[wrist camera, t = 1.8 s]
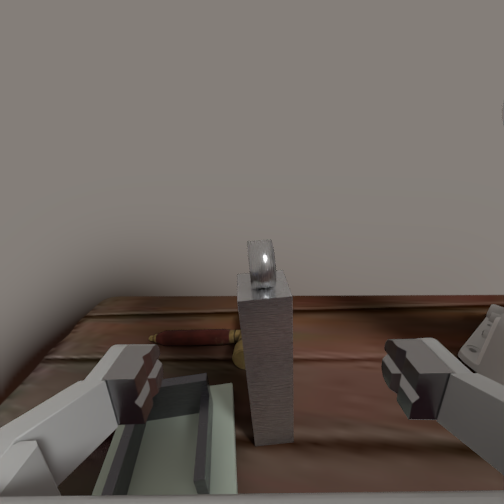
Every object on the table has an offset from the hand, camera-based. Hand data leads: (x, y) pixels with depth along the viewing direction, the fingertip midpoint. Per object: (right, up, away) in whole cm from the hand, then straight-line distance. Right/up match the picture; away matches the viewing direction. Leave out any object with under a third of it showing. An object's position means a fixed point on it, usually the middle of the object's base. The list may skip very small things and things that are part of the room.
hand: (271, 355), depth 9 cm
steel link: (+2, -17, +21) cm, 27 cm away
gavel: (-9, -13, +34) cm, 37 cm away
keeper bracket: (-10, -19, +19) cm, 28 cm away
